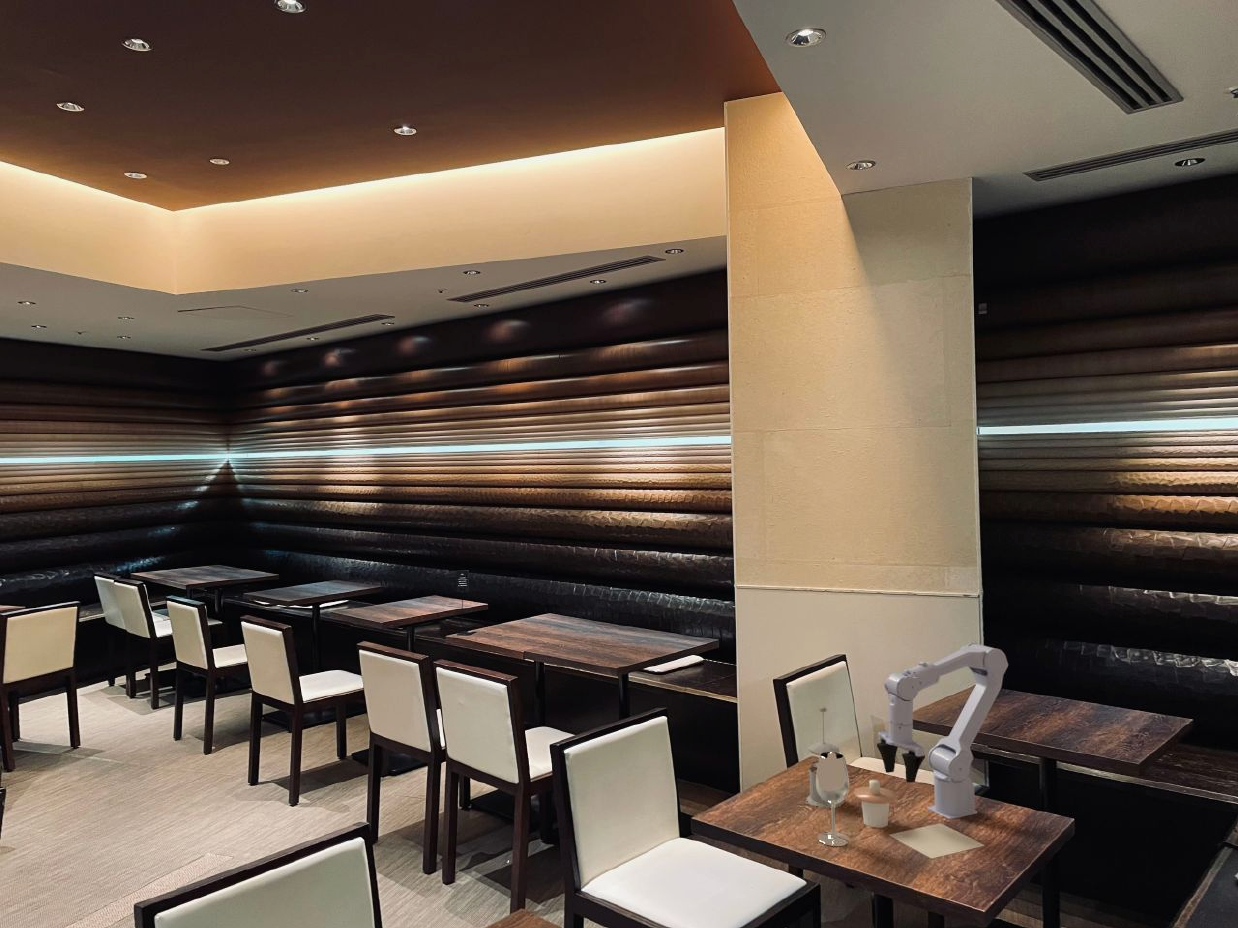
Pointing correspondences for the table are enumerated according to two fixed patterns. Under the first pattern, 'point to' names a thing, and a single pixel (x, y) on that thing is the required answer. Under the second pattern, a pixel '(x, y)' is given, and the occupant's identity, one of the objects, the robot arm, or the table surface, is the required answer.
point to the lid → (874, 793)
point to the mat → (936, 840)
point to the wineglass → (832, 791)
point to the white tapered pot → (875, 814)
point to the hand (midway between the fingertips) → (900, 776)
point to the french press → (817, 750)
